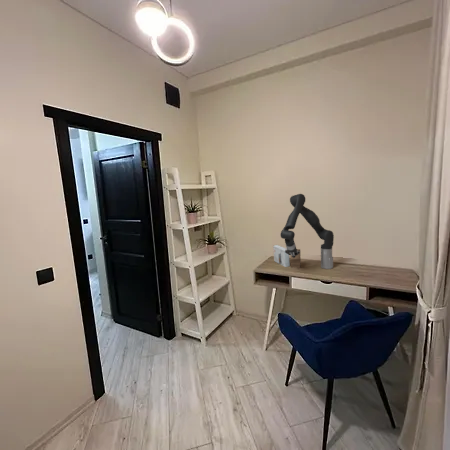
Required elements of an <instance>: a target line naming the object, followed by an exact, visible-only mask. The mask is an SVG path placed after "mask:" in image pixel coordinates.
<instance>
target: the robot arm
mask: <svg viewBox="0 0 450 450" xmlns="http://www.w3.org/2000/svg"><path fill="white" fill-rule="evenodd" d="M289 203H290V204H291V206H292V207H293V210H291V212H290V213H289V215H288V217H287V220H286V223H285V225H284V227H283V228H282V230H281V231H280V238H281V239H284V243H285V248H286V249H287V250H285V253H287V254H289V256H290V255H292V257H293V258H295V256H297V255H298V254H300V255H301V249H300V250H299V251H298V250H297V249H298V248H297V245H296V242H295V235H296V234H295V231H293V230H294V229H295V227H296V224H297V221H298V218H299V216H300V215H301V216H302V218H303V219H304V220H306V222H307V223H308V224H309V226H310V227H312V229H313V230H314V232H315V233H316V234H317V236H318V238H319V239H321V240H323V243H322V244H320V268H321V269H327V270H331V269H333V268H334V256H333V246H334V238H335V236H334V232H333V231H332V230H330V229H329V230H328V229H325V228H324V227H323V225H322V224H321V221H320V218H319V217H318V215H317V214H316V213H315V212H314V211H313V210H312V209H310V208H308V207H306V206H305V203H306V195H304V194H303V193H298V194H294V195H291V196H290V198H289Z"/></svg>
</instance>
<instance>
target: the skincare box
mask: <svg viewBox="0 0 450 450" xmlns="http://www.w3.org/2000/svg"><path fill="white" fill-rule="evenodd" d="M272 247H273V260H274V262H275V263H277V264H278V265H281V266H283V267H285V268H286V267H291V260H290V255H289V254H287V253H285V250H287V248H286V247H283V246H282V245H279V244H276V245H273V246H272Z"/></svg>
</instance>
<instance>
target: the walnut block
mask: <svg viewBox="0 0 450 450" xmlns="http://www.w3.org/2000/svg"><path fill="white" fill-rule="evenodd" d="M296 249H297V250H298V251H299V250H300V251H301V248H296ZM289 258H290V268H294V269H295V268H296V269H297V268H298V269H300V268H301V261H302V260H301V253H300V254H298V255H297V256H295V258H293V257H292V255H289Z"/></svg>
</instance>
